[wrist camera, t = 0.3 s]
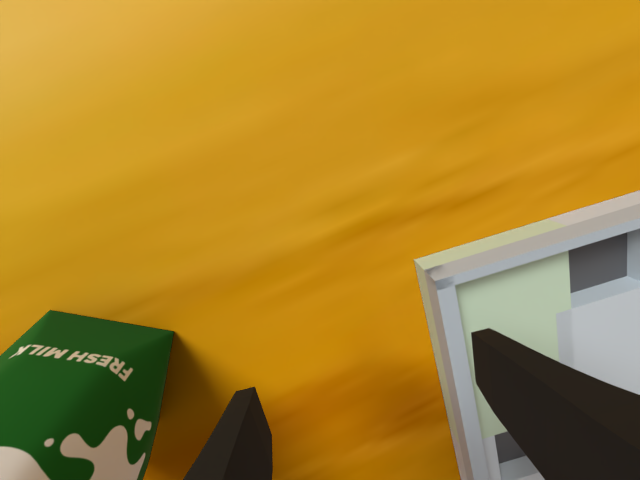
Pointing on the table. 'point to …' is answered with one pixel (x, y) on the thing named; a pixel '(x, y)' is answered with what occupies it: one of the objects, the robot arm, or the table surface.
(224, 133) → the table surface
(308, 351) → the table surface
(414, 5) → the table surface
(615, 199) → the tray
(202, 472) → the robot arm
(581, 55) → the table surface
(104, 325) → the milk carton
